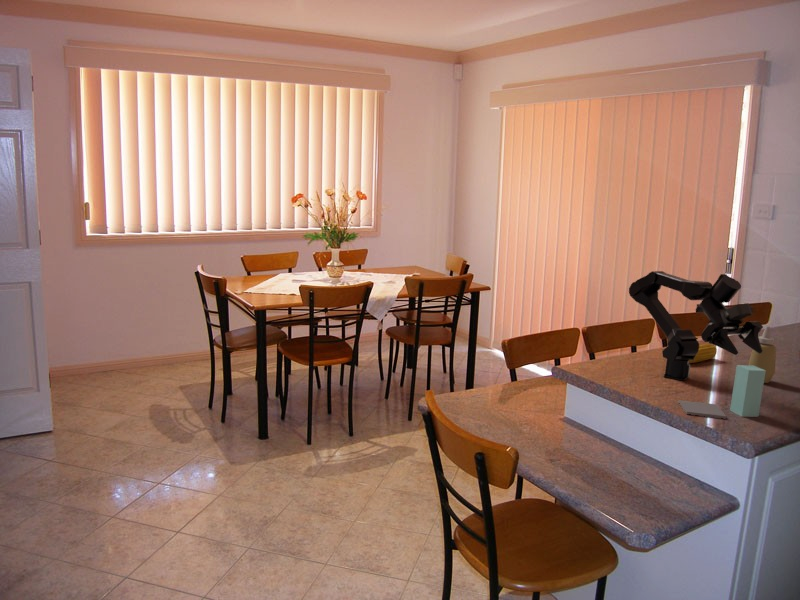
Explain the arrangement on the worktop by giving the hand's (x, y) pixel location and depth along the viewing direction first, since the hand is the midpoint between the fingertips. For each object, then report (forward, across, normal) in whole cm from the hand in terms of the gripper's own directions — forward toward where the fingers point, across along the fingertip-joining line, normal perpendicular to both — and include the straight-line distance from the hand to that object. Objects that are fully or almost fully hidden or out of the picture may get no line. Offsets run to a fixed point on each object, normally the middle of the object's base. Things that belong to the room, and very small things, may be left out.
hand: (749, 353), depth 190 cm
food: (-25, +23, +36) cm, 50 cm away
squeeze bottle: (-6, +26, +22) cm, 35 cm away
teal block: (+14, -7, +8) cm, 18 cm away
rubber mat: (+11, -18, +11) cm, 23 cm away
